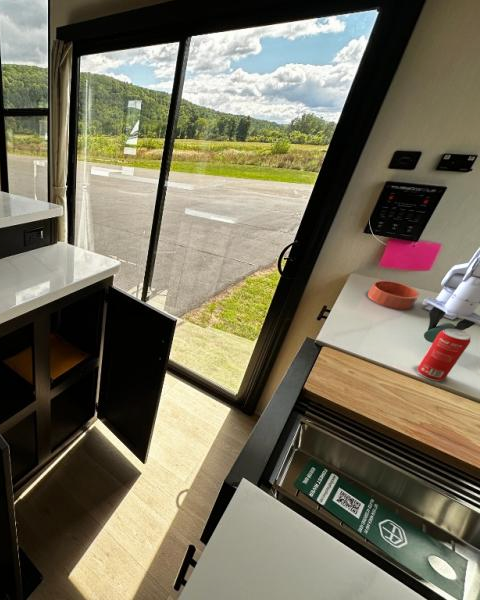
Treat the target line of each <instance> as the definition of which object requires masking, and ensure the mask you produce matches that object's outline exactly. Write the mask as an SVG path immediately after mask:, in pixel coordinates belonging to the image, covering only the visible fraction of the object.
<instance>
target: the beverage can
mask: <svg viewBox="0 0 480 600" xmlns="http://www.w3.org/2000/svg"><path fill="white" fill-rule="evenodd" d="M471 338H472V336H471V335H470V333H468V332H466V331H465V330H459V329H455V328H445V329H443V330H442V331H440V332H439V334H438V335H437V337H436V339H435V340H434V342H433V343H431V345H430V347H429V348H428V350H427V351H426V353H425V355H424V357H423V358H422V360H421V361H420V363H419V364H418V366H417V368H416V370H417V372H418V374H419V375H421V376H422V377H424V378H426V379H428V380H432V381H438V382H439V381H440V382H441V381H444V380H445V379H446V378H447V377H448V375H449V373H450V372H452V369H453V368H454V366H455V365H456V363H457V362H458V361H459V359H460V358H461V356H462V355H463V353H464V352H465V351H466V349H467V348H468V346H469V345H470V343H471Z"/></svg>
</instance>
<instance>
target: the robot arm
mask: <svg viewBox="0 0 480 600" xmlns="http://www.w3.org/2000/svg"><path fill="white" fill-rule="evenodd" d="M440 285H441V287H442V289H441V291H440V292H439V294H438V295H437V297H436V298H432V297H426V298H424V300H423V302H422V303H421V305H424V306H425V307H424V310H426V311H428V314H429V324H428V327H427V331H428V330H430V329H432V328H434V327H436V326H438V325H439V323H440V321H441V320H442V319H443V318H446V319H448V320H452V321H453V320H455V319H457V318H459V319H461V320H459V321H457V323H456V324H455V329H459V330H462V331H465V330H467V329H470V328H471V327H473V326H475V325H477V326H479V327H480V315H479V314H478V313H476V312H475V311H476V309H477V308H478V307H479V306H480V246H479V247H478V248H477V250H476V252H475V253H474V254H473V256H472V257H471V259H470V260H469V261H468V262H465V263H461V264H460V263H459V264H454V266H452V267H451V268H450V270H449V271H448V272H447V273H446V274H445V276H444V278H443V279H442V281H441V283H440Z"/></svg>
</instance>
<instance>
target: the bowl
mask: <svg viewBox="0 0 480 600" xmlns="http://www.w3.org/2000/svg"><path fill="white" fill-rule="evenodd" d="M367 297H368V298H369V300H371V301H372V302H373V303H376V304H378V305H380V306H383V307H386V308H390V309H395V310H409V309H412V307H413V306H414V304H415V303H416V301H417V300H418V299H419V297H420V293H419V291H417V290H416V289H415V288H413V287H411V286H409V285H407V284H404V283H400V282H397V281H392V280H384V279H383V280H377V281H374V282H373V283H372V285H371V287H370V289H369V290H368V293H367Z"/></svg>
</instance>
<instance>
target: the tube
mask: <svg viewBox="0 0 480 600" xmlns="http://www.w3.org/2000/svg"><path fill="white" fill-rule="evenodd" d="M455 326H456V324H454V323H452V322H443V323H441V324H437V326H436V327H434V328H432V329H430V330H428V329H427V330H426V331H425V332H424V333H423V338H424V340H426V341H427V342H429V343H431V344H432V343H433V342H434V340H435V339H436V337H437V335H438V334H439V332H440V331H442V330H443V329H445V328H455Z"/></svg>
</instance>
